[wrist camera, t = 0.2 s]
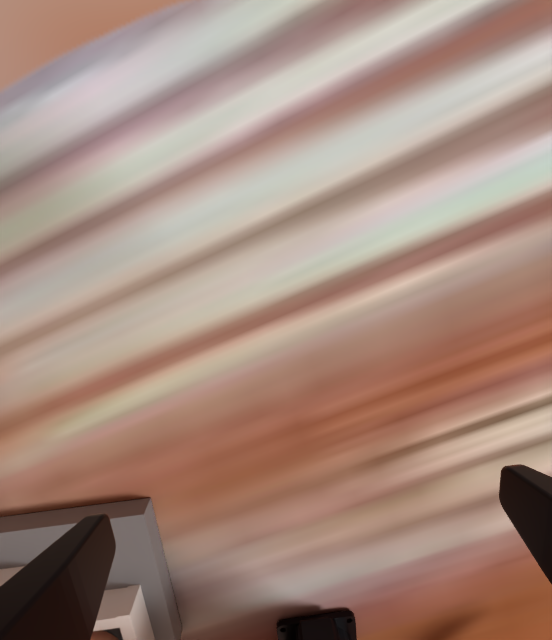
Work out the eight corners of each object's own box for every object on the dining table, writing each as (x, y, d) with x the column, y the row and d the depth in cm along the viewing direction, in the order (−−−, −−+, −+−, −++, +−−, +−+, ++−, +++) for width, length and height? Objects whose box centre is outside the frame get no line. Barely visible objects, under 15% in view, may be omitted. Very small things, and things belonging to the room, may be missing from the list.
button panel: (182, 628, 27) (171, 684, 24) (-90, 666, 27) (-140, 728, 23) (150, 497, 24) (133, 540, 21) (-159, 537, 24) (-228, 587, 20)
